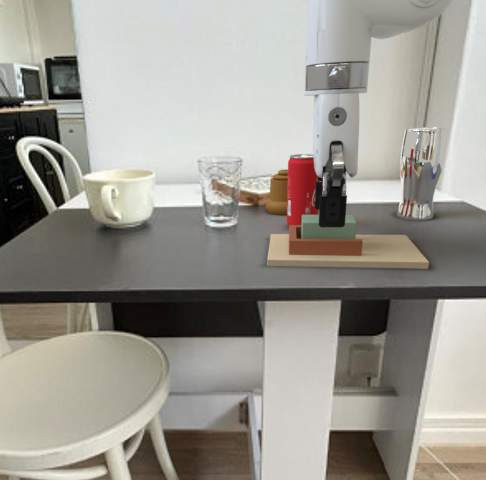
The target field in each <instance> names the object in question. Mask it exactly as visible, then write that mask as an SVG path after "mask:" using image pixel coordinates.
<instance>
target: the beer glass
mask: <svg viewBox="0 0 486 480" xmlns="http://www.w3.org/2000/svg"><path fill="white" fill-rule="evenodd" d="M448 131H449V128H448V127H432V126H431V127H410V128H405V129H404V133H403V138H402V142H401V149H400V156H399V175H400V200H399V203H398V207H397V210H396V215H395V216H396V217H397V218H399V219H403V220H408V221H429V220H432V219H433V218H434V215H435V214H434V213H435V212H434V199H435V198H434V197H435V192H436V190H437V186H438V183H439V181H440V178H441V176H442V175H441V174H442V172H443V168H444V165H445V160H446V156H447V147H448V133H449V132H448Z"/></svg>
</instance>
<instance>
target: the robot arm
mask: <svg viewBox="0 0 486 480" xmlns="http://www.w3.org/2000/svg"><path fill="white" fill-rule="evenodd" d="M452 1H453V0H307V5H306V6H307V8H306V37H305V38H306V41H305V69H304V70H305V71H304V96H305V97H307V96H309V97H310V96H313V116H312V117H313V122H312V154H313V156H314V168H315V172H316V174H317V181H320V182H316V189H315V209H317V210H319V211H318V215H319V226H320V227H344V226H345V218H346V215H347V204H348V203H347V202H348V195H347V175H348V176H349V178H351V179H352V178H355V177H356V176H357V175H358V167H359V166H358V165H359V164H358V163H359V141H360V140H359V138H360V94H367V93H368V86H369V85H368V84H369V72H370V62H371V61H370V60H371V59H370V58H371V48H372V38H374V39H378V40H386V39H391V38H393V37H396V36H398V35H399V36H400V35H401V34H404V33H409V32H412V31H414V30H415V31H416V30H418V29H421V28H423V27H425V26H427V25H429V24H431V23H432V22H434V21H435V20H437V19H438V18H439V17H441V15H442V14H443V13H444V12H445V11H446V10H447V9H448V8H449V6H450V5H451V3H452Z"/></svg>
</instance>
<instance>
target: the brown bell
mask: <svg viewBox="0 0 486 480" xmlns="http://www.w3.org/2000/svg"><path fill="white" fill-rule="evenodd" d="M269 182H270V183H269V198H268V199H267V200H266V203H265V209H266V211H267V213H269V214H271V215H275V216H287V189H288V169H279V170H278V171H277V173H275V174H274V175H273V176H272V177H271V178H270V181H269Z"/></svg>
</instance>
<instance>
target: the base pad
mask: <svg viewBox="0 0 486 480" xmlns="http://www.w3.org/2000/svg"><path fill="white" fill-rule="evenodd" d="M266 265H267V267H307V268H308V267H312V268H313V267H315V268H316V267H317V268H363V269H364V268H367V269H369V268H370V269H420V270H423V269H424V270H427V269H429V266H430V262H429V260H428V259H427V258H426V256H424V254H423V253H422V252H421V251H420V250H419V248H418V247H417V246H416V245H415V244H414V243H413V242H412V240H411V239H410V238H409V236H408V235H407V234H356V238H355V239H301V225H289V226H288V233H270V237H269V244H268V251H267V258H266Z"/></svg>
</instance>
